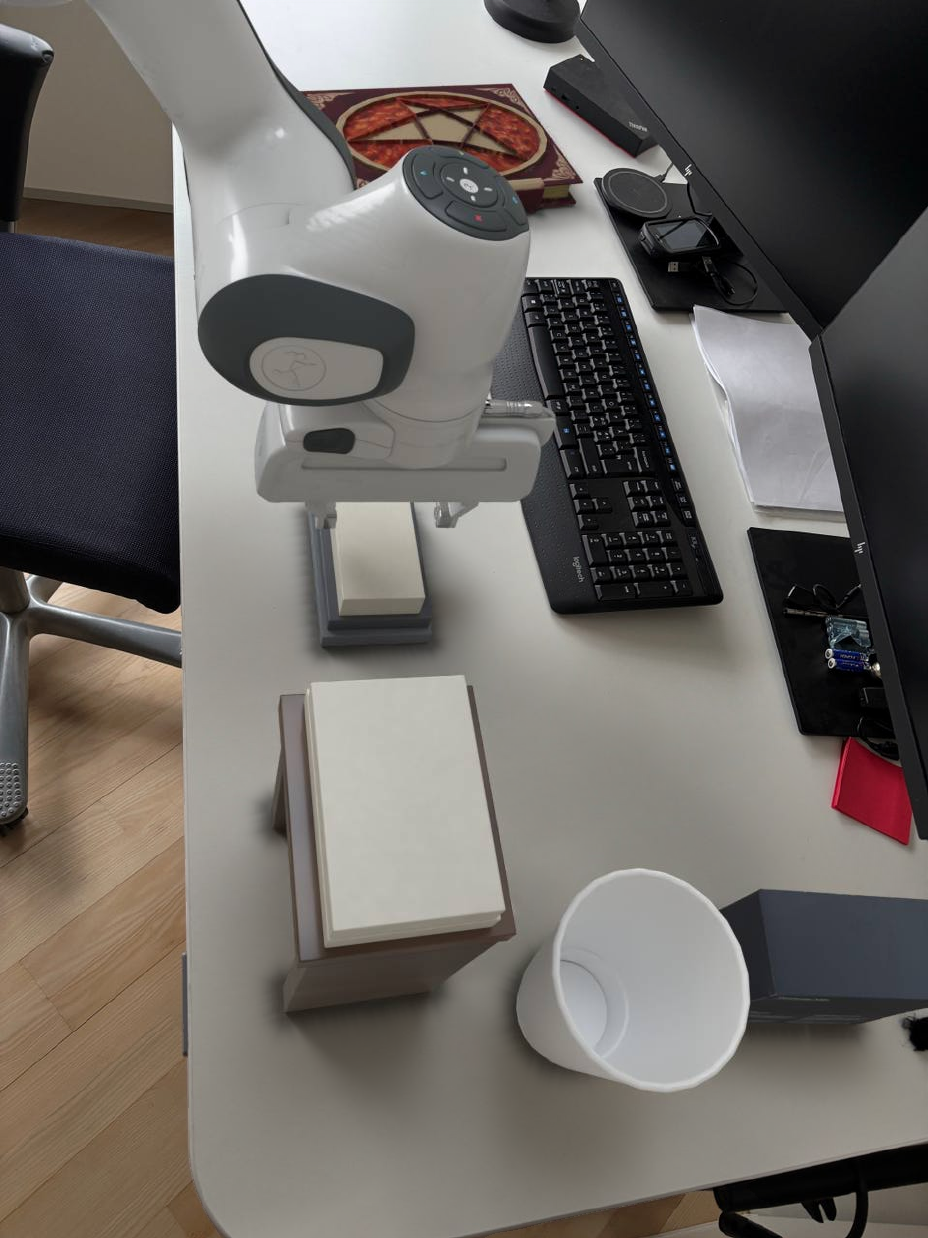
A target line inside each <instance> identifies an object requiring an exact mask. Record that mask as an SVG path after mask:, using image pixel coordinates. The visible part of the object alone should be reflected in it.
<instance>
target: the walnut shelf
mask: <svg viewBox="0 0 928 1238" xmlns="http://www.w3.org/2000/svg"><path fill="white" fill-rule="evenodd" d="M466 686H467V692H468V697H469V703H470V709H471V715H472V720H473V726H474V732H475V737H476V743H477V749H478V755H479V760H480V766H481V772H482V778H483V783H484V789H485V795H486V800H487V806H488V812H489V818H490V823H491V829H492V835H493V841H494V846H495V852H496V858H497V864H498V869H499V875H500V881H501V886H502V892H503V898H504V904H505V911H504V912H503V913H501V914H500V916H501V920H500V921H498V922H497V923H496V924H495V925H493V926H492V927H488V928H480V929H472V930H464V931H456V932H448V933H440V934H432V935H425V936H417V937H409V938H401V939H393V940H385V941H377V942H370V943H362V944H354V945H346V946H338V947H330V948H325V946H324V935H323V923H322V911H321V899H320V887H319V875H318V863H317V852H316V840H315V828H314V816H313V804H312V792H311V780H310V768H309V756H308V745H307V733H306V721H305V709H304V700H305V695H306V693H294V694H281V695H279V700H278V707H277V710H278V711H277V712H278V725H279V737H280V739H279V741H280V750H279V751H280V752H279V759H278V764H277V771H276V777H275V783H274V790H273V796H272V802H271V822H272V829H283V828H286V839H287V853H288V868H289V882H290V883H289V884H290V897H291V910H292V924H293V925H292V927H293V940H294V955H295V956H294V959H293V961H292V964H291V966H290V968H289V971H288V974H287V976H286V979H285V981H284V983H283V985H282V996H283V997H282V998H283V1012H284V1013H287V1012H288V1013H289V1012H295V1011H296V1012H297V1011H302V1010H310V1009H316V1008H322V1007H330V1006H338V1005H344V1004H351V1003H357V1002H366V1001H372V1000H379V999H385V998H393V997H398V996H406V995H414V994H420V993H427V992H431V991H433V990H434V989H435V988H437V987H438V986H440V985H441V984H443V983H444V982H445V981H447V980H448V979H449V978H451V977H452V976H453V975H455V974H456V973H458V972H459V971H460V970H462V969H463V968H465V967H466V966H467V965H469V964H470V963H471V962H473V961H475V960H476V959H477V958H478V957H480V956H481V955H482V954H484V953H485V952H487V951H488V950H490V949H491V948H492V947H494V946H495V945H497V944H498V943H501V942H507V941H510V940H511V938H513V937H514V936H516V935H517V933H518V931H517V927H516V921H515V916H514V910H513V903H512V897H511V892H510V887H509V882H508V876H507V871H506V865H505V860H504V859H505V858H504V854H503V847H502V842H501V837H500V831H499V824H498V820H497V814H496V809H495V804H494V797H493V792H492V787H491V786H492V785H491V779H490V775H489V769H488V763H487V759H486V752H485V748H484V741H483V735H482V730H481V723H480V719H479V713H478V708H477V707H478V706H477V701H476V697H475V691H474V685H471V684H470V685H466Z"/></svg>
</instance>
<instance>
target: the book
mask: <svg viewBox="0 0 928 1238" xmlns="http://www.w3.org/2000/svg"><path fill="white" fill-rule="evenodd" d="M299 91H300V92H301V93H302V94H303V95H304V96H306V97H307V98H308V99H309V100H310V101H311V102H312V103H313V104H314V105H316V106H317V107H318V108H319V109H320V110H321V111H322V112H323V113H324V114H325V115H326V116H327V117H328V118H329V119H330V120H331V121H332V122H333V124H334V125H335V126H336V127H337V129H338V130H339V131H340V133H341V134H342V136H343V137H344V139H345V141H346V143H347V145H348V147H349V149H350V152H351V155H352V158H353V162H354V166H355V174H356V188H357V189H359V188H361V187H363V186H365V185H367V184H369V183H370V182H372V181H374V180H376V179H378V178H379V177H381V176H382V175H384V174H386V173H387V172H388V171H389V170H390V169H392V168H393V167H394V166H395V165H396V164H397V163H398V162H399V160H400V159H401V158H402V157H403V156H404V155H405V154H407V153H408V152H409V151H411V150H413V149H415V148H417V147H421V146H427V145H437V146H445V147H450V148H454V149H457V150H461V151H464V152H466V153H469V154H471V155H473V156H475V157H477V158H479V159H481V160H482V161H484V162H486V163H487V164H488V165H489V166H491V167H492V168H493V169H495V170H496V171H497V172H498V173H499V174H501V175H502V176H503V177H504V178H505V179H506V180H507V181H508V182H509V184H510V185H511V186H512V188H513V189H514V190H515V192H516V193H517V195H518V197H519V199H520V200H521V202H522V204H523V207H524V209H525V211H526V213H531V212H538V210H539V209H540V208H551V207H560V206H571V205H576V203H577V200H576V199H575V198H574V196H573V195H572V193H571V191H570V187H571V185H579V184H580V185H582V184H584V180H583V179H582V178H581V176H580V175H579V174H578V172H577V171H576V169H575V168H574V167H573V166H572V164H571V162H570V161H569V160H568V159H567V157H566V156H565V154H564V153H563V152H562V150H561V149H560V147H559V146H558V145H557V144H556V142H555V140H554V139H553V138H552V137H551V135H550V134H549V132H548V131H547V130H546V129H545V127H544V125H543V124H542V123H541V121H540V120H539V119H538V117H537V116H536V114H535V113H534V112H533V111H532V109H531V108H530V106H529V105H528V104H527V102H526V101H525V99H524V98H523V97H522V96H521V94H520V93H519V91H518V90H517V89H516V87H515V86H514V84H513V83H511V82H509V83H485V84H482V83H481V84H457V85H455V84H454V85H453V84H452V85H429V86H425V85H424V86H403V87H402V86H401V87H400V86H399V87H398V86H397V87H375V88H374V87H373V88H371V87H370V88H345V89H343V88H342V89H319V90H318V89H317V90H299Z"/></svg>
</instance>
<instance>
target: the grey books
mask: <svg viewBox="0 0 928 1238" xmlns="http://www.w3.org/2000/svg"><path fill="white" fill-rule="evenodd" d="M410 506H411V512H412V518H413V524H414V531H415V537H416V543H417V549H418V556H419V562H420V568H421V574H422V581H423V587H424V593H425V599H424V602H423V605H422V607H421V610H420V613H419V614H388V615H352V616H340V615H339V607H338V598H337V589H336V580H335V570H334V561H333V552H332V543H331V534H330V529H316V525H315V516H314V515H313V514H312V513H311V512H310V511H309V510H308V514H307V518H308V528H309V529H308V530H309V539H310V549H311V557H312V558H311V559H312V570H313V571H312V572H313V581H314V590H315V602H316V612H317V620H318V621H317V622H318V632H319V642H320V647H343V646H367V645H368V646H372V645H397V644H399V645H400V644H424V643H429V642H430V639H431V638H432V635H433V630H432V624H431V622H432V620H433V612H432V607H431V601H430V600H431V599H430V596H429V595H430V594H429V588H428V583H427V576H426V571H425V570H426V569H425V564H424V558H423V551H422V546H421V540H420V532H419V527H418V520H417V515H416V508H415V502H410Z"/></svg>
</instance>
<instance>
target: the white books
mask: <svg viewBox="0 0 928 1238" xmlns="http://www.w3.org/2000/svg"><path fill="white" fill-rule="evenodd" d="M467 686H468V685H467V681H466V676H465V674H458V675H457V674H456V675H439V676H436V675H435V676H416V677H397V678H395V677H394V678H375V679H374V678H373V679H353V680H332V681H331V680H330V681H313V682H311V683H310V686H309V688H306V689H305V694H306V695H305V700H304V709H305V721H306V733H307V745H308V756H309V768H310V780H311V792H312V804H313V816H314V828H315V840H316V852H317V863H318V875H319V887H320V899H321V911H322V923H323V935H324V946H325V948H330V947H338V946H346V945H354V944H362V943H370V942H377V941H385V940H393V939H401V938H409V937H417V936H425V935H432V934H440V933H448V932H456V931H464V930H472V929H480V928H488V927H492V926H493V925H495V924H496V923H497V922H498V921H500V920H501V916H500V914H501V913H503V912H504V911H505V904H504V898H503V892H502V886H501V881H500V875H499V869H498V864H497V858H496V852H495V846H494V841H493V835H492V829H491V823H490V818H489V812H488V806H487V800H486V795H485V789H484V783H483V778H482V772H481V766H480V760H479V755H478V749H477V743H476V737H475V732H474V726H473V720H472V715H471V709H470V703H469V697H468V692H467Z"/></svg>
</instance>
